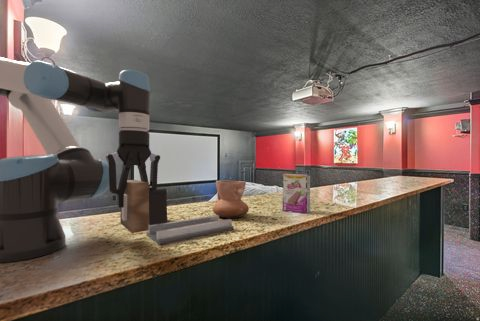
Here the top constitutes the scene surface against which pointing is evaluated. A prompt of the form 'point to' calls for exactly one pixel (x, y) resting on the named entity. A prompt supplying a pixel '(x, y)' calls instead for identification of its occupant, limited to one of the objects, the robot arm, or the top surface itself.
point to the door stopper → (158, 207)
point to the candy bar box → (296, 193)
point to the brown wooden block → (137, 206)
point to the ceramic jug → (230, 199)
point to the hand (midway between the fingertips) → (133, 218)
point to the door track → (188, 229)
